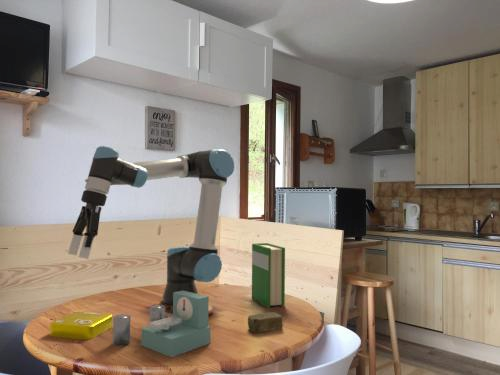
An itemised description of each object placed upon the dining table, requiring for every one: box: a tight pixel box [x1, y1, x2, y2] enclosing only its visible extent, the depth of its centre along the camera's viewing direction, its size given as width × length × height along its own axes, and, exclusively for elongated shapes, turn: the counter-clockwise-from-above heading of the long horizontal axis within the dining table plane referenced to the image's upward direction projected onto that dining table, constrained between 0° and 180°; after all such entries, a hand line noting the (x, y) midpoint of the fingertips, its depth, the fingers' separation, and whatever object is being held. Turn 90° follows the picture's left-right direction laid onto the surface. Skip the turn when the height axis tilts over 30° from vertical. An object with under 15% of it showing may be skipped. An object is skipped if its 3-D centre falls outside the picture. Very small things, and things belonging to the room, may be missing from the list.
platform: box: [148, 315, 182, 332], centre depth 122 cm, size 9×4×3 cm, turn 140°
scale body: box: [141, 291, 211, 358], centre depth 125 cm, size 15×14×14 cm
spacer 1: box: [112, 313, 131, 347], centre depth 126 cm, size 5×5×8 cm
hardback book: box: [251, 242, 286, 309], centre depth 177 cm, size 18×7×24 cm, turn 22°
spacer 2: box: [149, 304, 166, 322], centre depth 137 cm, size 5×5×8 cm
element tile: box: [49, 311, 114, 340], centre depth 137 cm, size 15×15×5 cm
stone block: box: [247, 311, 283, 334], centre depth 140 cm, size 6×12×5 cm, turn 118°
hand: (77, 256), depth 132 cm, fingers open, 13 cm apart
